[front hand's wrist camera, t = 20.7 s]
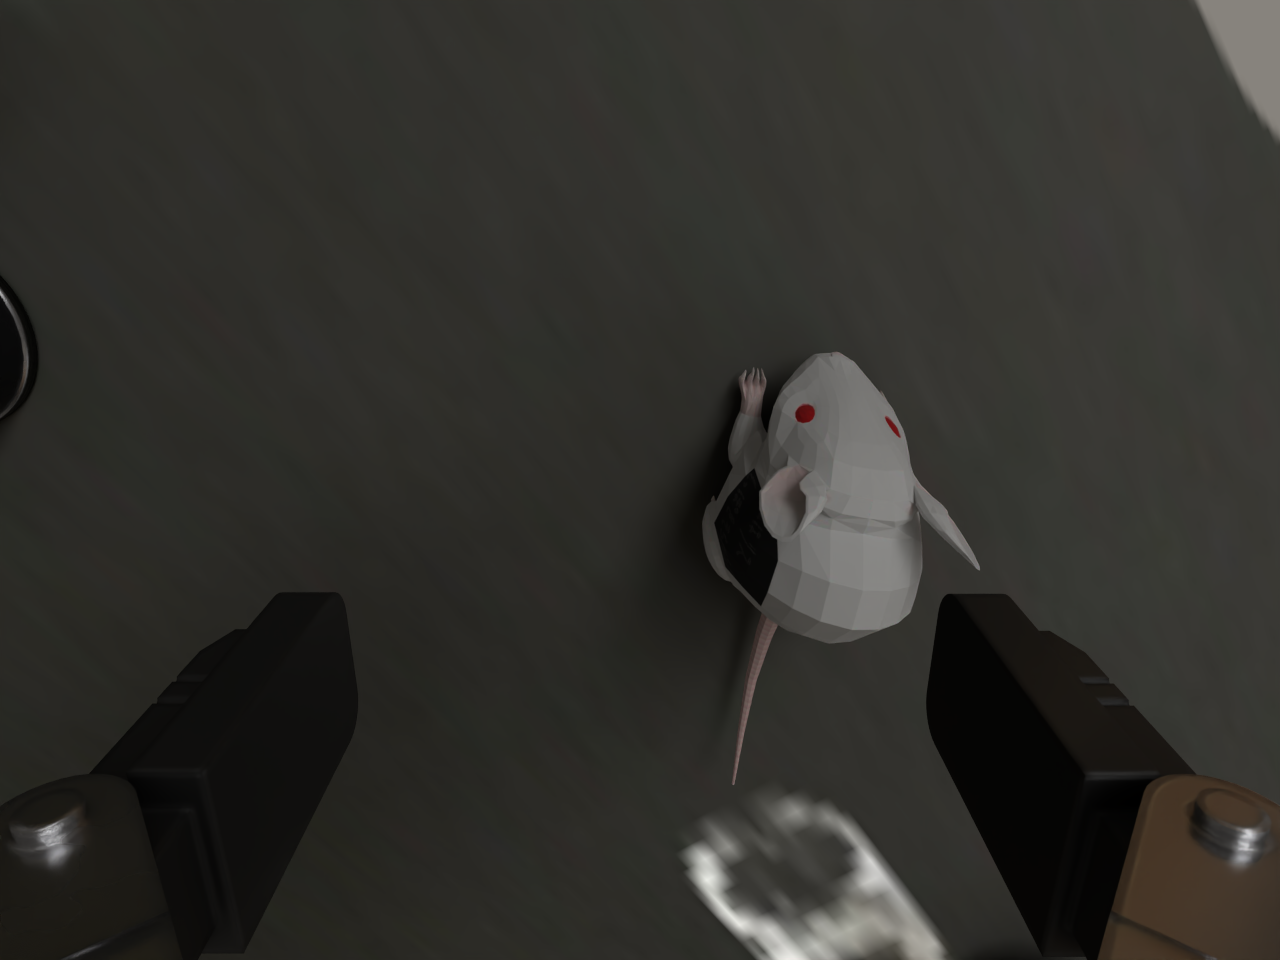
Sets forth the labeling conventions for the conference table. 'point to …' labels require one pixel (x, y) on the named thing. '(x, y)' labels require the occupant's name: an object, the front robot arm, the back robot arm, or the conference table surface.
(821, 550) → the toy
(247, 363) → the conference table surface
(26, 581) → the conference table surface
